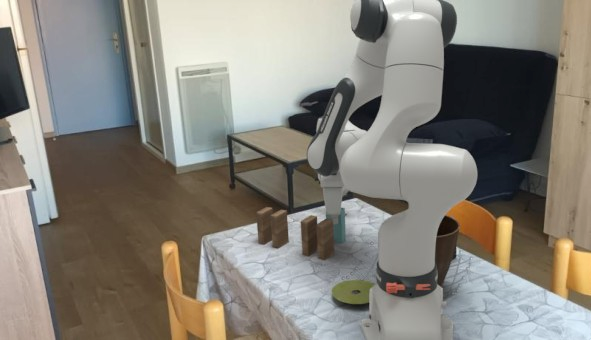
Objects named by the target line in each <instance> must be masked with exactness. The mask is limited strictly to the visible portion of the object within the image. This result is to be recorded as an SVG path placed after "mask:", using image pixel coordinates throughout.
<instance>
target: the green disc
mask: <svg viewBox="0 0 591 340" xmlns="http://www.w3.org/2000/svg"><path fill="white" fill-rule="evenodd" d="M375 284H376V283H374V282H372V281H368V280H361V279H351V280H350V279H349V280H345V281H342V282H339V283H337V284H335V285H333V287H332V289H331V295H332V297H334V299H335V300H336V301H337V300H338V301H339V302H342V303H346V304H350V305H351V304H352V305H363V304H368V303H369V293H370V289H371V288H372V287H373V286H374V285H375Z"/></svg>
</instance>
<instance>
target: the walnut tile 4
mask: <svg viewBox="0 0 591 340" xmlns="http://www.w3.org/2000/svg"><path fill="white" fill-rule="evenodd" d="M316 224H318V216H317V215H313V214H311V215H309V216H307V217H305V218H304V219H302V220H301V221H300V235H301V237H300V238H301V251H302V252H301V253H302V255H303V256H306V257H310V256H311V255H313V254H314V253H315V252H318V246H317V226H316Z"/></svg>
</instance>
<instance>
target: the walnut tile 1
mask: <svg viewBox="0 0 591 340" xmlns="http://www.w3.org/2000/svg"><path fill="white" fill-rule="evenodd" d="M273 209H274V208H273V207H271V206H270V207H268V206H266V207H263V208H262V209H260V210H258V211H256V212H255V215H256V228H257V229H256V230H257V241H258V245H263V246H265V245H266V244H268V243H270V242H271V241H272V231H271V217H270V215H272V214H274V210H273Z"/></svg>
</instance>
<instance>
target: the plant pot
mask: <svg viewBox="0 0 591 340" xmlns="http://www.w3.org/2000/svg"><path fill="white" fill-rule="evenodd" d="M460 228H461V226H460V222H459V221H458V220H457V219H455V217H454V218H452V217H451V215H447V214H446V215H445V216H444V218H443V219H442V221H441V223H440V225H439V228H438V231H437V237H436V246H435V263H436V265H437V272H438V278H437V284H438V285H439V286H441V287H442V285H443V284H444V282H445V279H446V278H447V275H448V272H449V269H450V267H451V263H452V260H453V259H452V258H453V255H454V251H455V247H456V248H457V243H458V237H459V233H460Z"/></svg>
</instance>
